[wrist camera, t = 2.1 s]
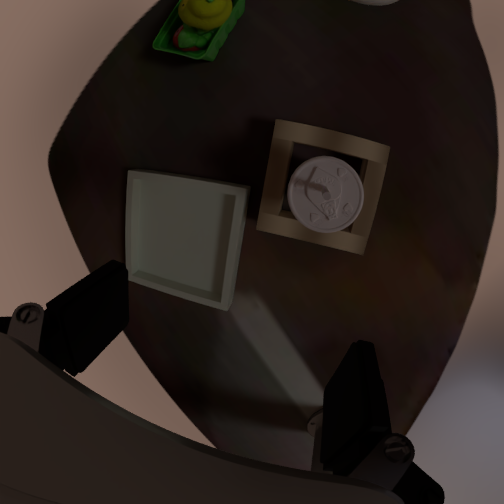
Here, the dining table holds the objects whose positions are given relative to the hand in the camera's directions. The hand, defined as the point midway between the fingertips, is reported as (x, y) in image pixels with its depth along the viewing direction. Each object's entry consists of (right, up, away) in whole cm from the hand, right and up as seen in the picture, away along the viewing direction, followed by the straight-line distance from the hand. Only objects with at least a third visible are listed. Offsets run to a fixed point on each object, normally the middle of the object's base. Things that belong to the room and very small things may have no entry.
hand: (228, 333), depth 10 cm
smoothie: (+9, +11, +20) cm, 24 cm away
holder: (+9, +11, +20) cm, 24 cm away
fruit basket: (-4, +31, +16) cm, 35 cm away
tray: (-8, +5, +26) cm, 27 cm away
